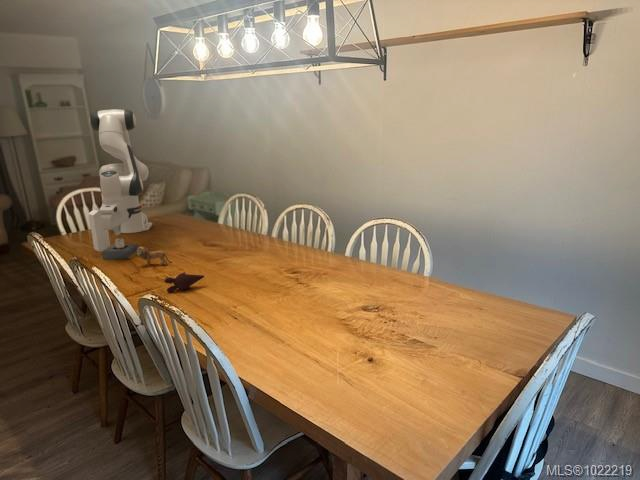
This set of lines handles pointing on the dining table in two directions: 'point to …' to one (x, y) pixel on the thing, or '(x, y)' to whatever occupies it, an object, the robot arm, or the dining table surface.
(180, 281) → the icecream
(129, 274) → the dining table surface
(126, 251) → the jig
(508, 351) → the dining table surface
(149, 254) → the lion figurine
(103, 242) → the milk
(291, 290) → the dining table surface
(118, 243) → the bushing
